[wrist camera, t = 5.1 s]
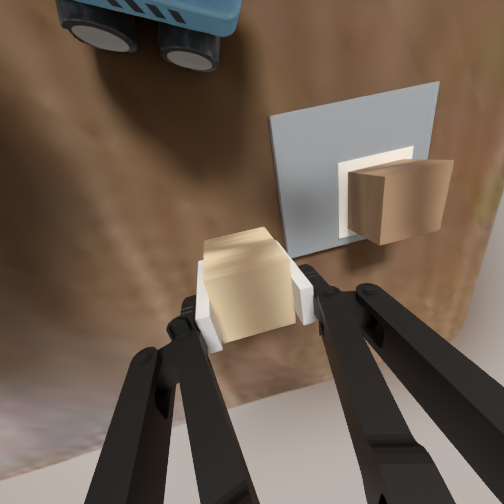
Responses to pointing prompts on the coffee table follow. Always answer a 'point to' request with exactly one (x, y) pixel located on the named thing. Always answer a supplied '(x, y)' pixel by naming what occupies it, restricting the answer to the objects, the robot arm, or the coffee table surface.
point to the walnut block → (398, 199)
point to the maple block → (248, 283)
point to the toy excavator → (169, 31)
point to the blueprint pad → (342, 158)
